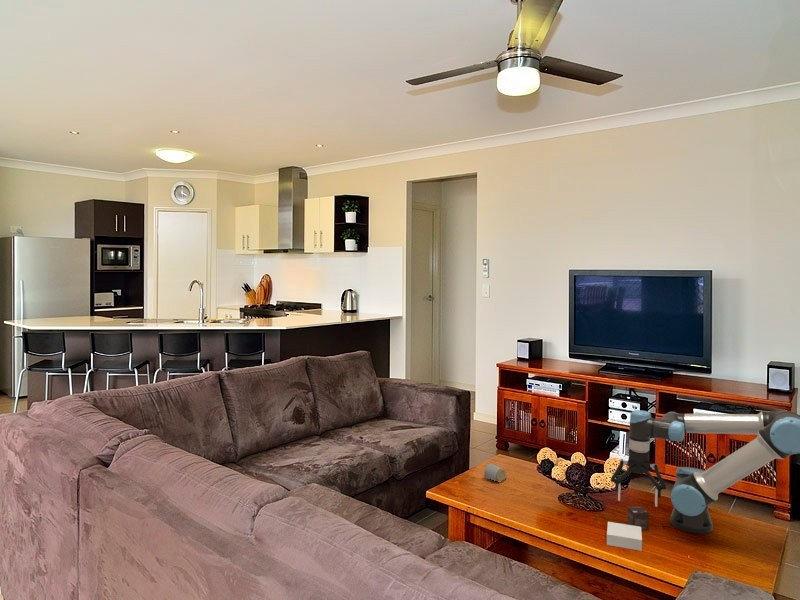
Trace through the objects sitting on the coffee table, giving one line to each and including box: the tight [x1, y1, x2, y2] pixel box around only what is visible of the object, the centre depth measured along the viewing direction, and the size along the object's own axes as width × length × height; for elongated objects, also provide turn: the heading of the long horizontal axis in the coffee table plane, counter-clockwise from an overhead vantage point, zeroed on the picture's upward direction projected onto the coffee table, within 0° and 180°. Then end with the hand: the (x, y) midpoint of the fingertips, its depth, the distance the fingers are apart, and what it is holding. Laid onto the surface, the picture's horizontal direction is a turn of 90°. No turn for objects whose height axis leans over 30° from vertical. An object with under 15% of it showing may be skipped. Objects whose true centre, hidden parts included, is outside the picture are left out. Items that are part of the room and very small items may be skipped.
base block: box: [606, 521, 643, 552], centre depth 211 cm, size 12×12×4 cm
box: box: [626, 506, 650, 531], centre depth 223 cm, size 6×6×7 cm
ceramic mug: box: [484, 463, 508, 482], centre depth 275 cm, size 11×8×8 cm
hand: (637, 502), depth 223 cm, fingers open, 13 cm apart
